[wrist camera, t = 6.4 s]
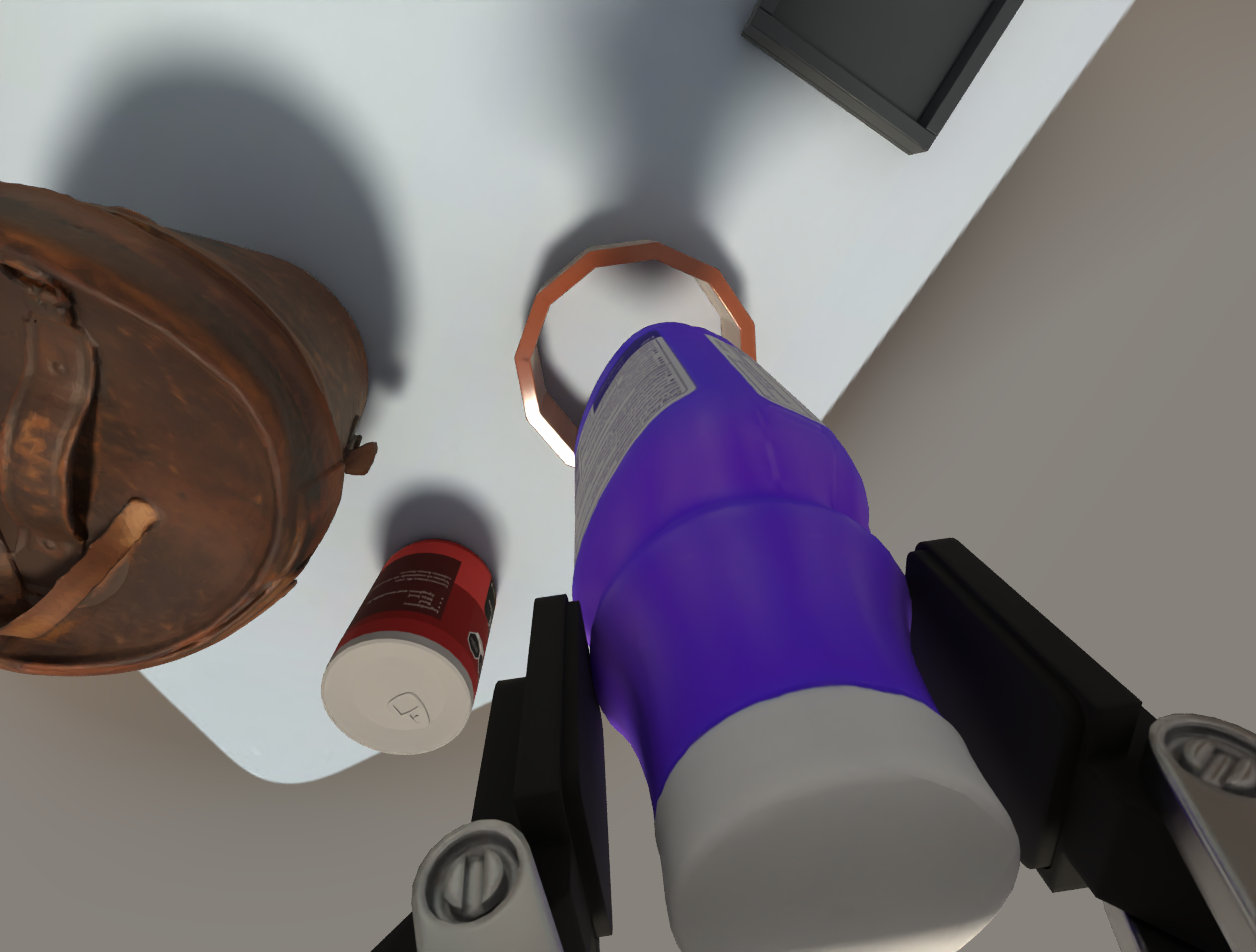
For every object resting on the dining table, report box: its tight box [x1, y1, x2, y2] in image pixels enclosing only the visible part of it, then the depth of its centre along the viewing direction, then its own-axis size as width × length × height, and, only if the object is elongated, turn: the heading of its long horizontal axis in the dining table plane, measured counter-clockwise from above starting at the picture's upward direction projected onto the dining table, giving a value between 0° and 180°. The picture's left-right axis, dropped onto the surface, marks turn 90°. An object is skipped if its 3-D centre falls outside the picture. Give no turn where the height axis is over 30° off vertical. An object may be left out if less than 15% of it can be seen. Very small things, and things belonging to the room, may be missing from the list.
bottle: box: [572, 322, 1020, 952], centre depth 15 cm, size 7×6×17 cm
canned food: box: [321, 539, 496, 755], centre depth 37 cm, size 8×8×11 cm
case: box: [0, 181, 378, 676], centre depth 28 cm, size 18×20×18 cm
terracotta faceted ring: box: [514, 239, 756, 468], centre depth 35 cm, size 13×13×5 cm
